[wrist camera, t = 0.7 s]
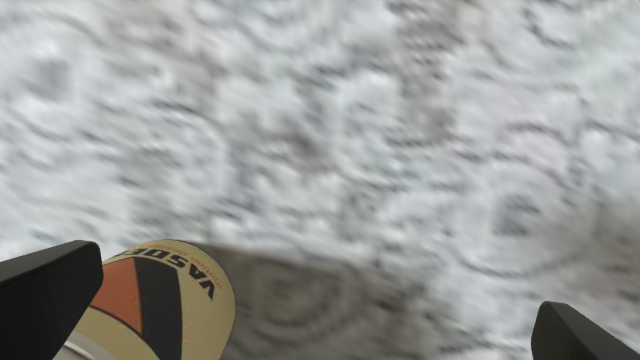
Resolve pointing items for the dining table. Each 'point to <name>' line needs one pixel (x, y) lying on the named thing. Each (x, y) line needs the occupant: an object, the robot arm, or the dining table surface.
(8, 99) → the dining table surface
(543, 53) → the dining table surface
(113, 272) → the coffee cup
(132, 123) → the dining table surface
